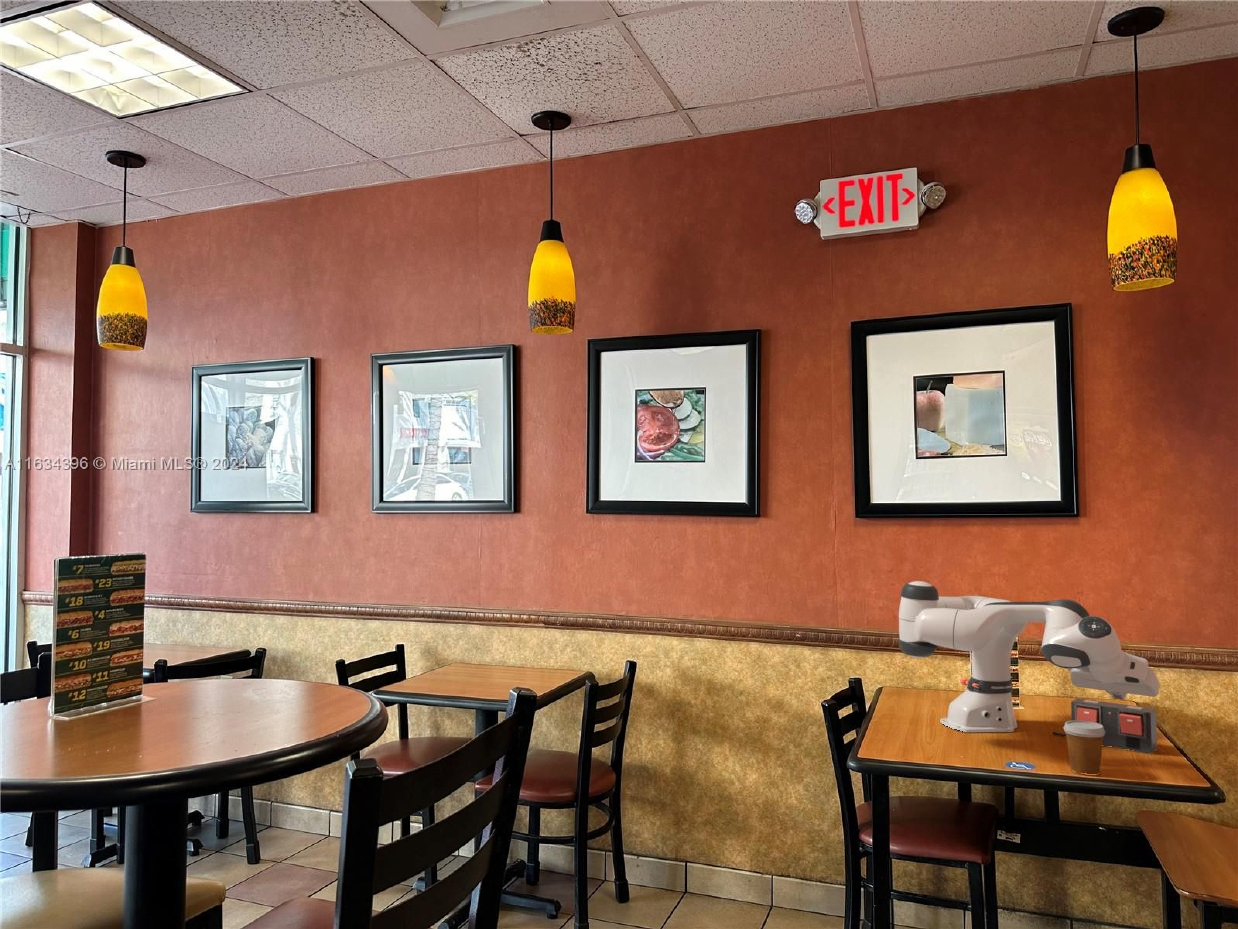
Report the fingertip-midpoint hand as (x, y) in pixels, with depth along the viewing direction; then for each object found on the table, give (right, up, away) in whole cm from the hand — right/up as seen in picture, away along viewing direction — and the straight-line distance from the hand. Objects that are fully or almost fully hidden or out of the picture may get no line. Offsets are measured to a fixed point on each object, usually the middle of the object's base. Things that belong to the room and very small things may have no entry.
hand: (1119, 697), depth 232 cm
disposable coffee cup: (-14, -17, -9) cm, 23 cm away
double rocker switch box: (+5, -18, +17) cm, 25 cm away
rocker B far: (+8, -12, +8) cm, 17 cm away
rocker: (-1, -12, +15) cm, 19 cm away
